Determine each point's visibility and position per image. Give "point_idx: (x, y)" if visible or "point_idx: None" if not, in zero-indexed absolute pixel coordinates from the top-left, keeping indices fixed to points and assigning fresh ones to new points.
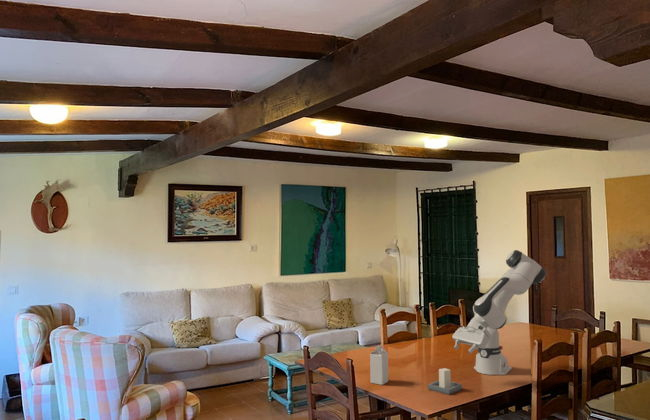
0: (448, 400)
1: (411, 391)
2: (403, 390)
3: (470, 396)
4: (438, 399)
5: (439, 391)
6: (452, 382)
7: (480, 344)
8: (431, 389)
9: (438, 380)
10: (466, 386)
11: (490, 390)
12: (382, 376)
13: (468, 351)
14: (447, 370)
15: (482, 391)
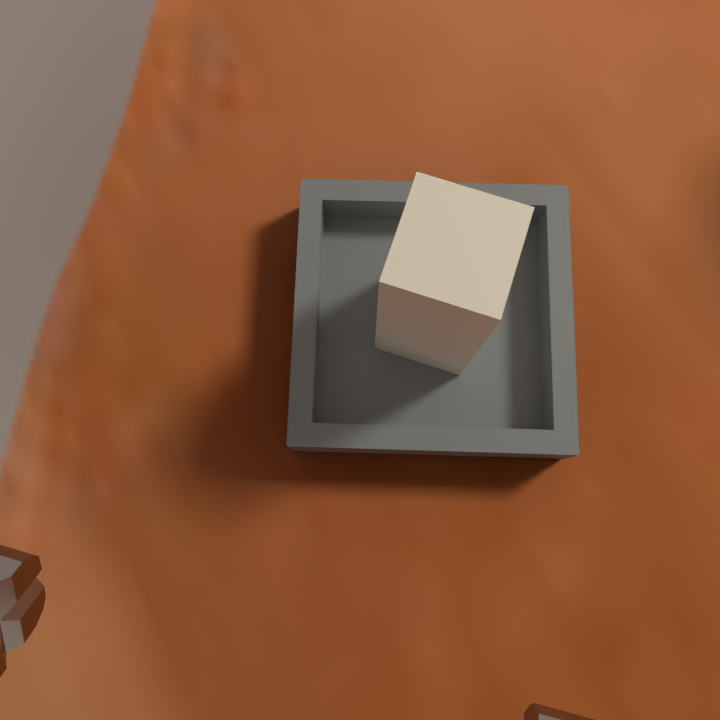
0: (235, 78)
1: (629, 62)
2: (700, 38)
3: (121, 303)
4: (318, 45)
5: None
6: (404, 428)
7: None
8: None
9: (570, 383)
10: (302, 580)
11: None
12: None
13: (19, 554)
14: (397, 229)
15: (83, 536)
